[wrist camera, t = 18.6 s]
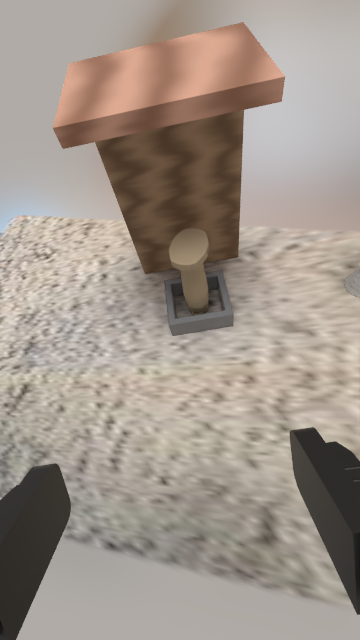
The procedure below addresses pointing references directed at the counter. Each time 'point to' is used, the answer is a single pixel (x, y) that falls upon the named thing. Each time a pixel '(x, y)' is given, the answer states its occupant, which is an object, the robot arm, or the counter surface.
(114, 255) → the counter surface
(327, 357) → the counter surface
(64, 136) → the wooden l-shaped bracket
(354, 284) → the chalice
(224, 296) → the socket
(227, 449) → the counter surface
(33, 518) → the robot arm
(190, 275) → the tan headed rod
